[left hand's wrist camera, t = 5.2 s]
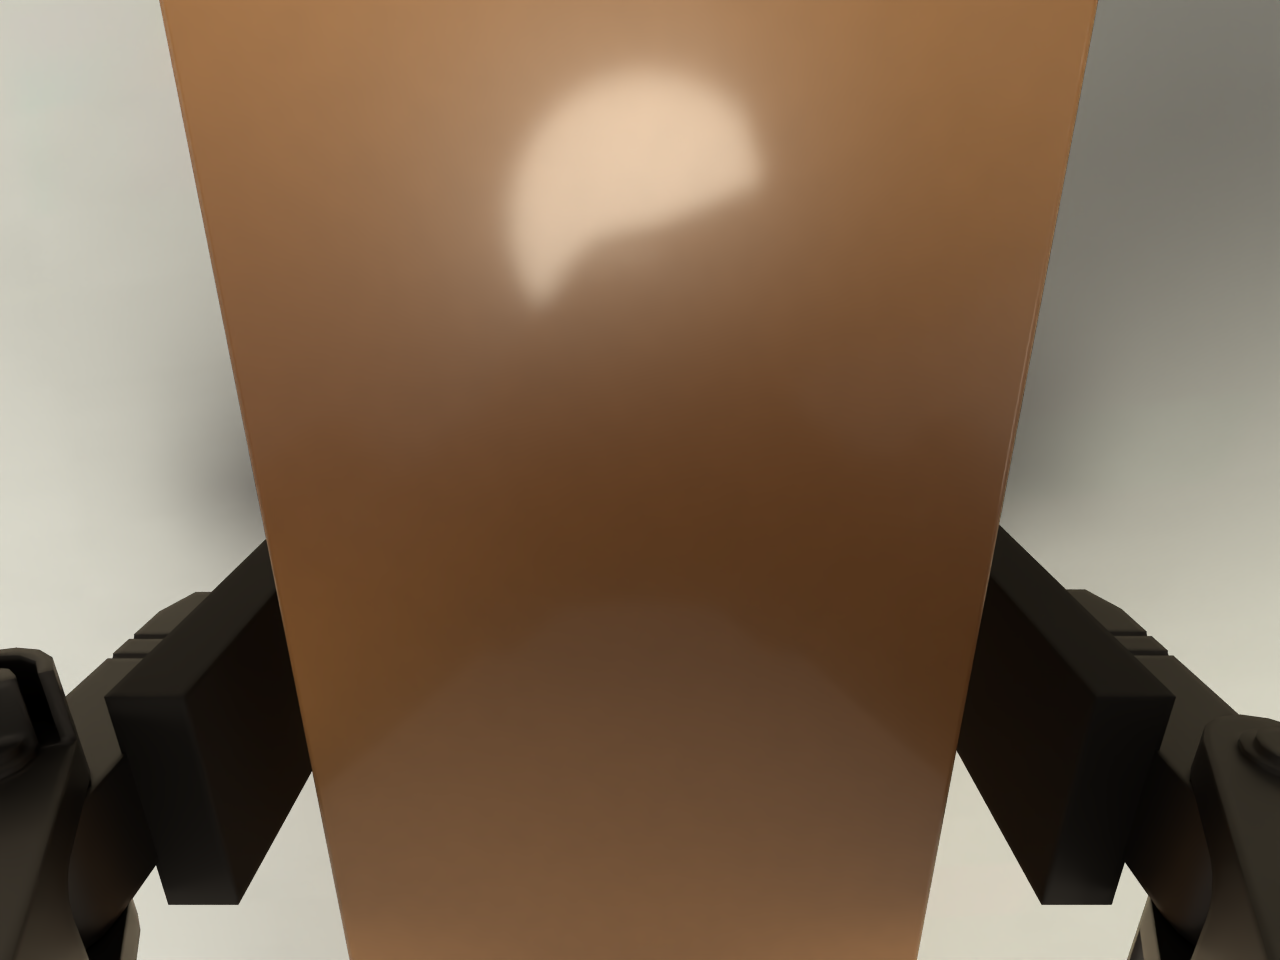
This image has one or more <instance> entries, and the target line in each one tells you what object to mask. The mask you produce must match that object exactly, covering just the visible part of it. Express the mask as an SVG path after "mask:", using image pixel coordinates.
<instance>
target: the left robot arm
mask: <svg viewBox="0 0 1280 960" xmlns="http://www.w3.org/2000/svg"><path fill="white" fill-rule="evenodd" d="M956 750H957V752H958V754H959V756H960V757H961V759H962V761H963V763H964V765H965V767H966V768H967V770H968V772H969V774H970V776H971V777H972V779H973V781H974V783H975V785H976V786H977V788H978V790H979V792H980V794H981V796H982V797H983V799H984V801H985V803H986V805H987V806H988V808H989V810H990V812H991V814H992V816H993V817H994V819H995V821H996V823H997V825H998V826H999V828H1000V830H1001V832H1002V834H1003V835H1004V837H1005V839H1006V841H1007V843H1008V845H1009V846H1010V848H1011V850H1012V852H1013V854H1014V855H1015V857H1016V859H1017V861H1018V863H1019V865H1020V866H1021V868H1022V870H1023V872H1024V874H1025V875H1026V877H1027V879H1028V881H1029V883H1030V885H1031V886H1032V888H1033V890H1034V892H1035V894H1036V895H1037V897H1038V899H1039V901H1040V903H1041V904H1042V905H1112V902H1113V899H1114V895H1115V892H1116V889H1117V886H1118V882H1119V879H1120V876H1121V873H1122V870H1123V866H1124V863H1126V864H1127V866H1128V867H1129V869H1130V870H1131V871H1132V873H1133V874H1134V876H1135V877H1136V879H1137V880H1138V881H1139V883H1140V884H1141V886H1142V887H1143V888H1144V890H1145V891H1146V893H1147V894H1148V898H1147V901H1146V904H1145V907H1144V910H1143V913H1142V916H1141V919H1140V922H1139V925H1138V928H1137V931H1136V934H1135V937H1134V940H1133V943H1132V946H1131V949H1130V952H1129V955H1128V958H1127V960H1280V722H1278V721H1275V720H1272V719H1269V718H1262V717H1254V716H1247V715H1239V714H1238V713H1237V712H1235V711H1234V710H1233V709H1232V708H1231V707H1230V706H1229V705H1228V704H1227V703H1225V702H1224V701H1223V700H1222V699H1221V698H1220V697H1219V696H1218V695H1217V694H1215V693H1214V692H1213V691H1212V690H1211V689H1210V688H1209V687H1208V686H1207V685H1205V684H1204V683H1203V682H1202V681H1201V680H1200V679H1199V678H1198V677H1197V676H1195V675H1194V674H1193V673H1192V672H1191V671H1190V670H1189V669H1188V668H1187V667H1185V666H1184V665H1183V664H1182V663H1181V662H1180V661H1179V660H1178V659H1177V658H1175V657H1174V656H1169V655H1168V650H1167V649H1165V648H1164V647H1163V646H1162V645H1161V644H1160V643H1159V642H1158V641H1157V640H1155V639H1154V638H1153V637H1152V636H1147V631H1145V630H1144V629H1143V628H1142V627H1141V626H1140V625H1139V624H1138V623H1137V622H1135V621H1134V620H1133V619H1132V618H1131V617H1130V616H1129V615H1128V614H1127V613H1125V612H1124V611H1123V610H1122V609H1121V608H1119V607H1117V606H1115V605H1113V604H1111V603H1109V602H1108V601H1106V600H1104V599H1102V598H1100V597H1098V596H1096V595H1094V594H1093V593H1091V592H1089V591H1087V590H1066V589H1065V588H1064V587H1063V586H1062V585H1061V584H1060V583H1059V582H1058V581H1057V580H1056V579H1055V578H1053V577H1052V576H1051V575H1050V574H1049V573H1048V572H1047V571H1046V570H1045V569H1044V568H1043V567H1042V566H1041V565H1040V564H1039V563H1038V562H1037V561H1036V560H1035V559H1034V558H1033V557H1032V556H1031V555H1030V554H1029V553H1028V552H1027V551H1026V550H1025V549H1024V548H1023V547H1022V546H1021V545H1020V544H1019V543H1017V542H1016V541H1015V540H1014V539H1013V538H1012V537H1011V536H1010V535H1009V534H1008V533H1007V532H1006V531H1005V530H1004V529H1003V528H1002V527H1001V526H1000V525H999V527H998V533H997V538H996V543H995V549H994V554H993V559H992V564H991V570H990V575H989V580H988V586H987V591H986V596H985V601H984V607H983V612H982V617H981V623H980V628H979V633H978V638H977V644H976V649H975V654H974V660H973V665H972V670H971V675H970V681H969V686H968V691H967V697H966V702H965V707H964V712H963V718H962V723H961V728H960V734H959V739H958V744H957V749H956ZM311 772H312V767H311V762H310V757H309V752H308V747H307V742H306V737H305V732H304V727H303V722H302V717H301V712H300V707H299V702H298V697H297V692H296V686H295V681H294V676H293V671H292V666H291V661H290V656H289V651H288V646H287V641H286V636H285V631H284V626H283V621H282V616H281V611H280V606H279V601H278V596H277V591H276V586H275V581H274V576H273V571H272V566H271V560H270V555H269V550H268V545H267V540H265V541H264V542H263V543H262V544H260V545H259V546H258V547H257V548H256V549H255V550H254V551H253V552H252V553H251V554H250V555H249V556H248V557H247V558H246V559H245V560H244V561H243V562H242V563H241V564H240V565H239V566H238V567H237V568H236V569H235V570H234V571H233V572H232V573H231V574H230V575H229V576H228V577H227V578H225V579H224V580H223V581H222V582H221V583H220V584H219V585H218V586H217V587H216V588H215V589H214V590H213V591H212V592H195V593H193V594H191V595H189V596H187V597H186V598H184V599H182V600H180V601H178V602H176V603H174V604H172V605H171V606H169V607H167V608H165V609H163V610H161V611H159V612H158V613H157V614H156V615H155V616H154V617H153V618H152V619H151V620H149V621H148V622H147V623H146V624H145V625H144V626H143V627H142V628H141V629H140V630H138V631H137V632H136V633H135V634H134V639H129V640H127V641H126V642H125V643H124V644H123V645H122V646H121V647H120V648H119V649H118V650H116V651H115V652H114V653H113V658H108V659H106V660H105V661H104V662H103V663H102V664H101V665H100V666H99V667H98V668H97V669H95V670H94V671H93V672H92V673H91V674H90V675H89V676H88V677H87V678H86V679H84V680H83V681H82V682H81V683H80V684H79V685H78V686H77V687H76V688H74V689H73V690H72V691H71V692H70V693H69V694H68V695H67V696H66V697H65V694H64V691H63V688H62V685H61V682H60V679H59V676H58V673H57V670H56V667H55V664H54V661H53V658H52V657H51V656H49V655H47V654H46V653H44V652H42V651H41V650H37V649H26V648H10V649H1V650H0V960H136V959H137V952H138V944H139V937H140V925H139V919H138V913H137V910H136V907H135V904H134V901H133V897H134V896H135V894H136V893H137V891H138V890H139V888H140V887H141V886H142V884H143V883H144V881H145V880H146V879H147V877H148V876H149V874H150V873H151V871H152V870H153V869H154V867H155V866H157V869H158V873H159V876H160V879H161V882H162V886H163V889H164V892H165V895H166V898H167V902H168V905H238V904H239V903H240V901H241V899H242V897H243V895H244V894H245V892H246V890H247V888H248V886H249V885H250V883H251V881H252V879H253V877H254V875H255V874H256V872H257V870H258V868H259V866H260V865H261V863H262V861H263V859H264V857H265V855H266V854H267V852H268V850H269V848H270V846H271V845H272V843H273V841H274V839H275V837H276V836H277V834H278V832H279V830H280V828H281V826H282V825H283V823H284V821H285V819H286V817H287V816H288V814H289V812H290V810H291V808H292V806H293V805H294V803H295V801H296V799H297V797H298V796H299V794H300V792H301V790H302V788H303V787H304V785H305V783H306V781H307V779H308V777H309V776H310V774H311Z"/></svg>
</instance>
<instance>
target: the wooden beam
mask: <svg viewBox="0 0 1280 960" xmlns="http://www.w3.org/2000/svg"><path fill="white" fill-rule="evenodd" d="M159 1H160V6H161V11H162V16H163V21H164V26H165V31H166V36H167V41H168V46H169V51H170V56H171V61H172V67H173V72H174V77H175V82H176V87H177V92H178V97H179V102H180V107H181V112H182V117H183V122H184V127H185V132H186V137H187V142H188V147H189V152H190V157H191V162H192V167H193V172H194V177H195V182H196V188H197V193H198V198H199V203H200V208H201V213H202V218H203V223H204V228H205V233H206V238H207V243H208V248H209V253H210V258H211V263H212V268H213V273H214V278H215V283H216V288H217V293H218V298H219V303H220V308H221V314H222V319H223V324H224V329H225V334H226V339H227V344H228V349H229V354H230V359H231V364H232V369H233V374H234V379H235V384H236V389H237V394H238V399H239V404H240V409H241V414H242V419H243V424H244V429H245V434H246V440H247V445H248V450H249V455H250V460H251V465H252V470H253V475H254V480H255V485H256V490H257V495H258V500H259V505H260V510H261V515H262V520H263V525H264V530H265V535H266V540H267V545H268V550H269V555H270V560H271V566H272V571H273V576H274V581H275V586H276V591H277V596H278V601H279V606H280V611H281V616H282V621H283V626H284V631H285V636H286V641H287V646H288V651H289V656H290V661H291V666H292V671H293V676H294V681H295V686H296V692H297V697H298V702H299V707H300V712H301V717H302V722H303V727H304V732H305V737H306V742H307V747H308V752H309V757H310V762H311V767H312V772H313V777H314V782H315V787H316V792H317V797H318V802H319V807H320V812H321V818H322V823H323V828H324V833H325V838H326V843H327V848H328V853H329V858H330V863H331V868H332V873H333V878H334V883H335V888H336V893H337V898H338V903H339V908H340V913H341V918H342V923H343V928H344V933H345V938H346V944H347V949H348V954H349V959H350V960H917V956H918V950H919V945H920V940H921V935H922V929H923V924H924V919H925V913H926V908H927V903H928V898H929V892H930V887H931V882H932V876H933V871H934V866H935V861H936V855H937V850H938V845H939V839H940V834H941V829H942V824H943V818H944V813H945V808H946V802H947V797H948V792H949V787H950V781H951V776H952V771H953V765H954V760H955V755H956V749H957V744H958V739H959V734H960V728H961V723H962V718H963V712H964V707H965V702H966V697H967V691H968V686H969V681H970V675H971V670H972V665H973V660H974V654H975V649H976V644H977V638H978V633H979V628H980V623H981V617H982V612H983V607H984V601H985V596H986V591H987V586H988V580H989V575H990V570H991V564H992V559H993V554H994V549H995V543H996V538H997V533H998V527H999V522H1000V517H1001V511H1002V506H1003V501H1004V496H1005V490H1006V485H1007V480H1008V474H1009V469H1010V464H1011V459H1012V453H1013V448H1014V443H1015V437H1016V432H1017V427H1018V422H1019V416H1020V411H1021V406H1022V400H1023V395H1024V390H1025V385H1026V379H1027V374H1028V369H1029V363H1030V358H1031V353H1032V348H1033V342H1034V337H1035V332H1036V326H1037V321H1038V316H1039V311H1040V305H1041V300H1042V295H1043V289H1044V284H1045V279H1046V273H1047V268H1048V263H1049V258H1050V252H1051V247H1052V242H1053V236H1054V231H1055V226H1056V221H1057V215H1058V210H1059V205H1060V199H1061V194H1062V189H1063V184H1064V178H1065V173H1066V168H1067V162H1068V157H1069V152H1070V147H1071V141H1072V136H1073V131H1074V125H1075V120H1076V115H1077V110H1078V104H1079V99H1080V94H1081V88H1082V83H1083V78H1084V72H1085V67H1086V62H1087V57H1088V51H1089V46H1090V41H1091V35H1092V30H1093V25H1094V20H1095V14H1096V9H1097V4H1098V0H159Z"/></svg>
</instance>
